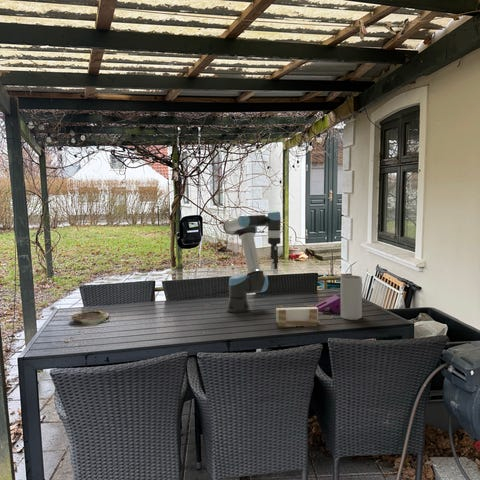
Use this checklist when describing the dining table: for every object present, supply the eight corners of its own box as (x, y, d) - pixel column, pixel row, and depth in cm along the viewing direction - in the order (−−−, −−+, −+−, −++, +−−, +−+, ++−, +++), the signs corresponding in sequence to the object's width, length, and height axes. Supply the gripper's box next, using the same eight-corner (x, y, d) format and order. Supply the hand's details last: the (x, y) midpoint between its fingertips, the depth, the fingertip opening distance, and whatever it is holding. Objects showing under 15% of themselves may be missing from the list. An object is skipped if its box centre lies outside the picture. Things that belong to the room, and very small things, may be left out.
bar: (276, 319, 252) (276, 308, 251) (321, 318, 252) (321, 306, 251) (276, 321, 248) (276, 309, 247) (323, 320, 248) (323, 308, 247)
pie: (78, 330, 249) (77, 322, 249) (58, 322, 268) (57, 314, 268) (120, 319, 270) (120, 312, 269) (99, 313, 288) (98, 305, 288)
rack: (277, 322, 255) (277, 306, 254) (314, 321, 255) (313, 304, 254) (279, 327, 245) (278, 310, 244) (317, 326, 246) (317, 309, 245)
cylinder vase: (336, 317, 261) (336, 277, 259) (347, 313, 270) (347, 274, 268) (355, 321, 253) (355, 280, 250) (365, 316, 262) (365, 276, 259)
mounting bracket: (320, 322, 273) (345, 309, 273) (314, 311, 272) (339, 298, 272) (316, 318, 282) (341, 305, 282) (311, 307, 281) (335, 294, 281)
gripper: (283, 239, 245) (283, 275, 248) (277, 234, 270) (277, 267, 272) (270, 239, 245) (270, 276, 247) (266, 234, 269) (266, 267, 272)
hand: (274, 271), depth 260 cm, fingers open, 13 cm apart
